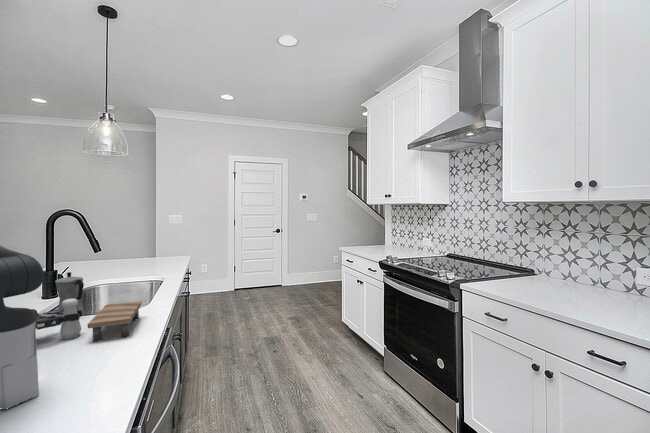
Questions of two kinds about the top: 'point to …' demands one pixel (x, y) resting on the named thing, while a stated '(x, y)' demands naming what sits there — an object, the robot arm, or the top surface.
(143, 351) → the top surface
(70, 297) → the coffeepot
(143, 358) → the top surface
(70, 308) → the salt shaker
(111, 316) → the slatted wooden bench
